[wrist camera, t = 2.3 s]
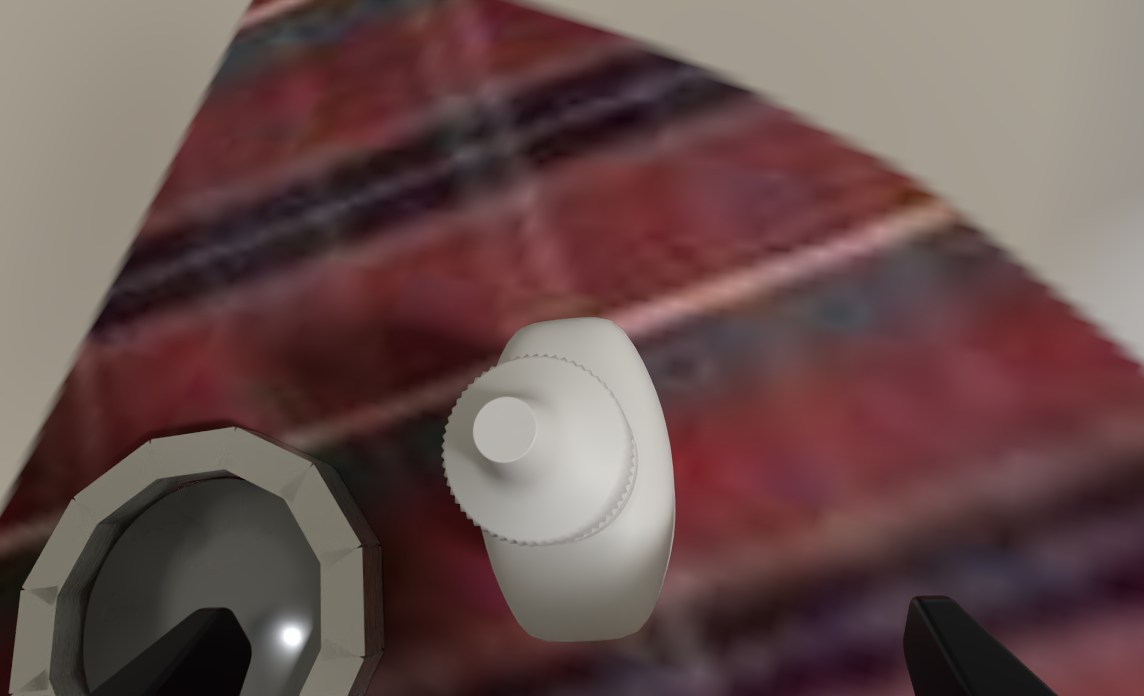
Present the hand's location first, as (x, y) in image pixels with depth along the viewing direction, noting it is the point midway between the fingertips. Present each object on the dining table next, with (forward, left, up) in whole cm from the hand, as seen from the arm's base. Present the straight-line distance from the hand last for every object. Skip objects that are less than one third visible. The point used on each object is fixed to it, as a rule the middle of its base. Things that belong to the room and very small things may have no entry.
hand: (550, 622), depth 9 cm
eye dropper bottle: (+2, 0, -10) cm, 10 cm away
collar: (0, +12, -9) cm, 15 cm away
